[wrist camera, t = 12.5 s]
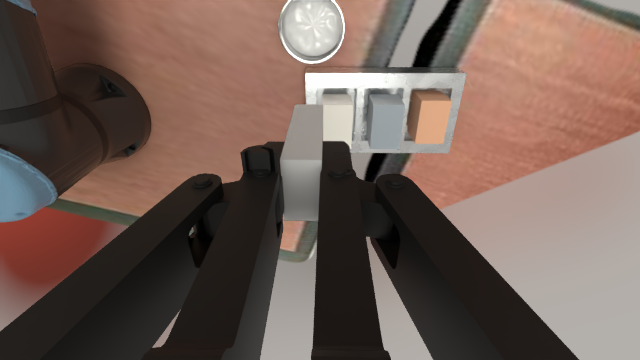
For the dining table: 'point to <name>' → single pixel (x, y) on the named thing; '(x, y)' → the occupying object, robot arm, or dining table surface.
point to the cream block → (337, 117)
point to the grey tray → (387, 82)
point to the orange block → (428, 117)
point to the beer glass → (312, 29)
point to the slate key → (384, 121)
